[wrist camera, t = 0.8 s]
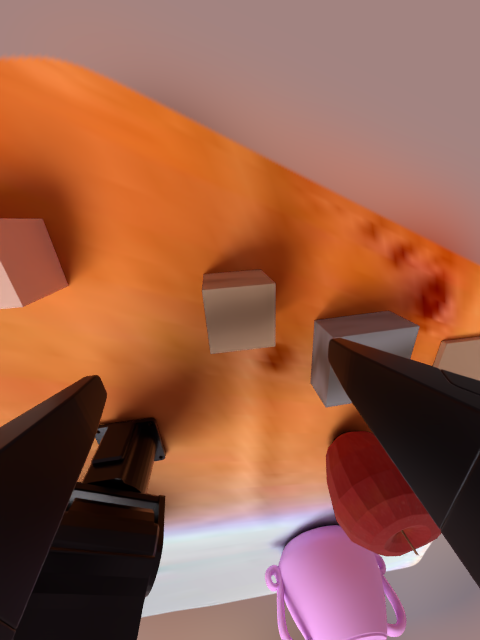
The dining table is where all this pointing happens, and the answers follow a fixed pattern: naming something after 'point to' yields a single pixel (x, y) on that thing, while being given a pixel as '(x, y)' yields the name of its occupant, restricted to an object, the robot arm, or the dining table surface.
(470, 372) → the tile
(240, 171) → the dining table surface
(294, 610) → the pink pot
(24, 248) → the pale pink cube
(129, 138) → the dining table surface
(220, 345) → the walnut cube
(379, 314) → the grey flat block
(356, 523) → the apple
